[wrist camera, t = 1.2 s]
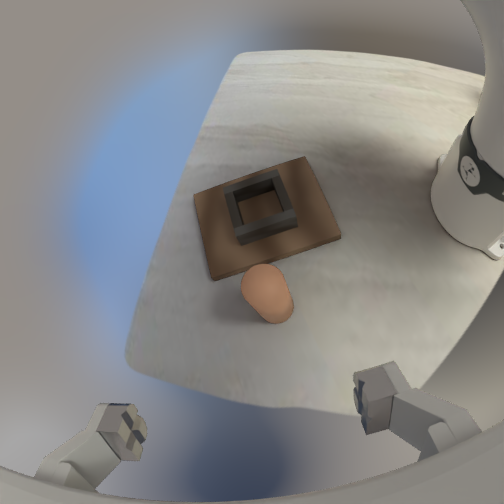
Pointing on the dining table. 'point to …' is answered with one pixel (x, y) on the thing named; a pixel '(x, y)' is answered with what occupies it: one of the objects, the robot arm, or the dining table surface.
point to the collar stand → (263, 218)
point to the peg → (267, 293)
